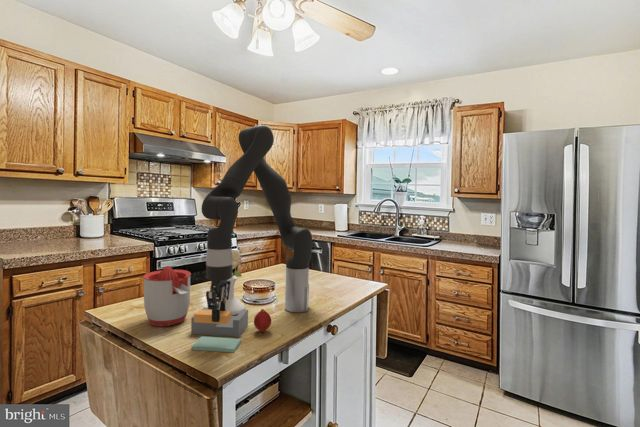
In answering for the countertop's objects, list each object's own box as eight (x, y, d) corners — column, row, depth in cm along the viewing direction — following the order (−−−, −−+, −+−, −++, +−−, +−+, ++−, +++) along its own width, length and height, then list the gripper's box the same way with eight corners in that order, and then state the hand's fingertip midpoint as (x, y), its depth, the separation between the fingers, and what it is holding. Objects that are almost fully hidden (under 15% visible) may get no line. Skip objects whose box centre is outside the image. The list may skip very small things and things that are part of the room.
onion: (254, 328, 117) (255, 305, 117) (271, 328, 118) (271, 305, 117) (252, 335, 111) (253, 311, 111) (270, 335, 112) (270, 311, 111)
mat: (241, 342, 107) (241, 338, 106) (234, 352, 100) (234, 349, 100) (201, 339, 108) (201, 336, 108) (191, 349, 101) (191, 346, 101)
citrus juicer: (163, 334, 110) (163, 274, 109) (133, 322, 119) (133, 266, 118) (203, 320, 123) (203, 265, 122) (173, 310, 133) (173, 259, 131)
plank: (231, 319, 105) (231, 311, 105) (226, 324, 101) (226, 316, 101) (199, 317, 106) (199, 309, 105) (193, 322, 102) (193, 314, 101)
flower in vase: (210, 311, 132) (210, 248, 131) (237, 305, 140) (238, 245, 138) (224, 321, 122) (225, 253, 121) (252, 315, 130) (253, 250, 128)
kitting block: (247, 324, 120) (248, 309, 120) (238, 336, 110) (239, 320, 110) (204, 322, 121) (204, 307, 121) (191, 333, 111) (191, 317, 111)
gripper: (222, 268, 95) (222, 328, 96) (239, 258, 109) (238, 311, 110) (196, 267, 95) (196, 327, 96) (216, 257, 109) (215, 309, 110)
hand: (218, 318), depth 103 cm, fingers closed on plank, 4 cm apart
